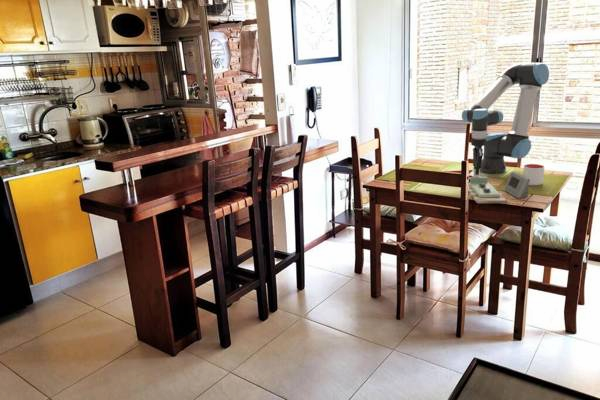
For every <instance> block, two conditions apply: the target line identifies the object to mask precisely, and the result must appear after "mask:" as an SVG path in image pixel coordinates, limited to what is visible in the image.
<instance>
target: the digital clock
mask: <svg viewBox="0 0 600 400" xmlns="http://www.w3.org/2000/svg"><path fill="white" fill-rule="evenodd" d="M529 181H530V180H529V179H528V178H526V177H525V176H523V174H521V173H519V172H516V171H511V173H510V174H509V177H508V178H507V181H506V183H505V185H504V188H503V189H504V192H505V191H506V192H507V193H508V194H510V195H511V196H513V197H514V198H517V199H522V198H525V197H528V196H529V187H528V186H529V185H528V184H529Z"/></svg>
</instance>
